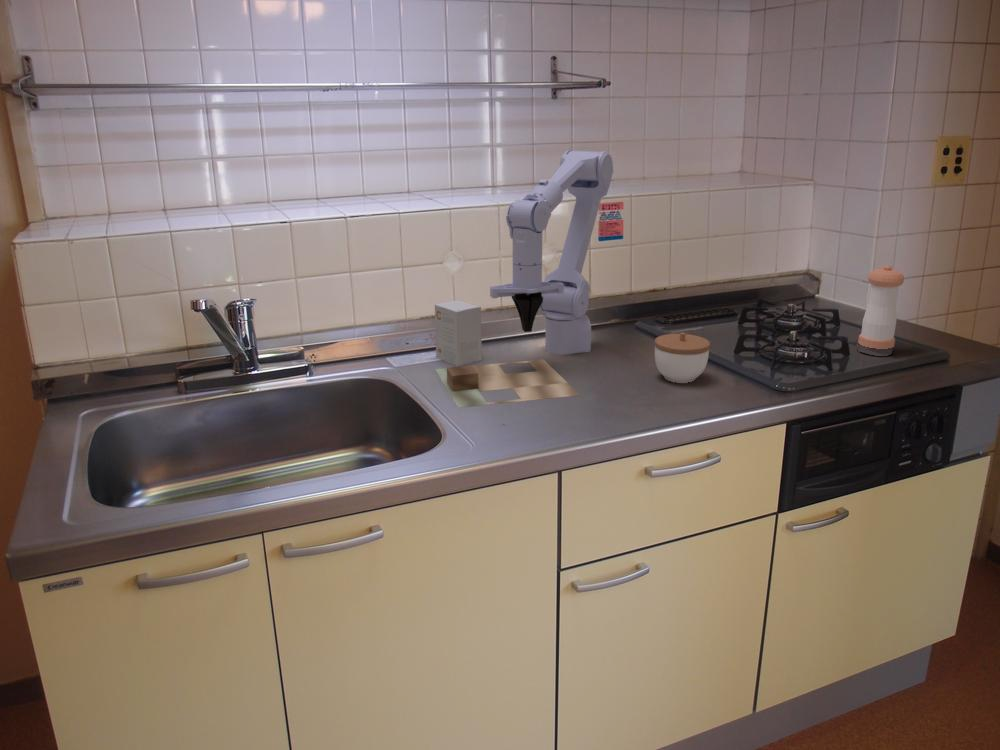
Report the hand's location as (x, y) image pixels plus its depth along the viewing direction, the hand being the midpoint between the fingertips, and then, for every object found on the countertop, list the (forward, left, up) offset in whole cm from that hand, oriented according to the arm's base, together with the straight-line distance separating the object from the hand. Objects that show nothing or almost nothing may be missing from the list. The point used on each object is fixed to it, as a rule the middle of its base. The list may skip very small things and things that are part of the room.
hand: (526, 330), depth 163 cm
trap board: (+6, +6, -9) cm, 13 cm away
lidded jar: (-29, +10, -10) cm, 32 cm away
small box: (+12, -10, -10) cm, 18 cm away
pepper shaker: (-78, +6, -10) cm, 79 cm away
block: (+15, +6, -8) cm, 18 cm away
